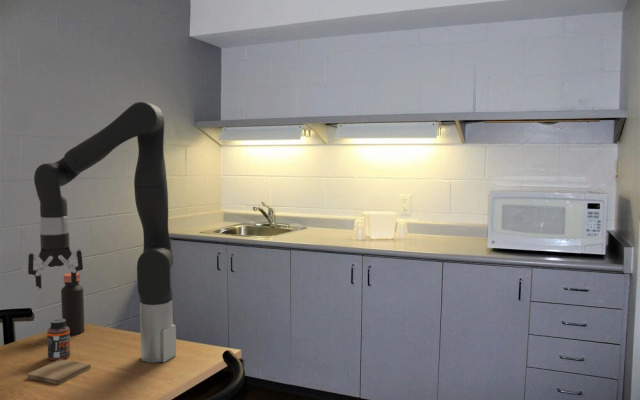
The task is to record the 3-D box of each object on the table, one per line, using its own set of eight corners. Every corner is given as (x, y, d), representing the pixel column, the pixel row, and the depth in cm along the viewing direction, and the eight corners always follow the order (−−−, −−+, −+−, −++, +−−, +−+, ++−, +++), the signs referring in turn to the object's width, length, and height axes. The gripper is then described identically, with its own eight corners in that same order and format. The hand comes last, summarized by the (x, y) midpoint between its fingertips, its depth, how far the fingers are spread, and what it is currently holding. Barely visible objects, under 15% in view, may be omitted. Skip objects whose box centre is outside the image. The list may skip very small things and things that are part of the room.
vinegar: (77, 327, 181) (75, 271, 179) (88, 331, 177) (86, 274, 175) (58, 332, 175) (56, 274, 173) (69, 337, 171) (67, 277, 169)
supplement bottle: (61, 362, 151) (59, 324, 150) (43, 360, 152) (41, 323, 151) (74, 354, 156) (73, 318, 155) (57, 353, 158) (56, 316, 157)
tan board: (90, 368, 146) (90, 364, 146) (59, 384, 136) (58, 380, 136) (60, 362, 150) (60, 358, 150) (27, 378, 140) (27, 373, 140)
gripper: (26, 235, 144) (28, 292, 146) (82, 232, 151) (84, 286, 152) (27, 231, 151) (29, 286, 152) (80, 228, 157) (82, 281, 159)
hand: (56, 286), depth 152 cm, fingers open, 8 cm apart
